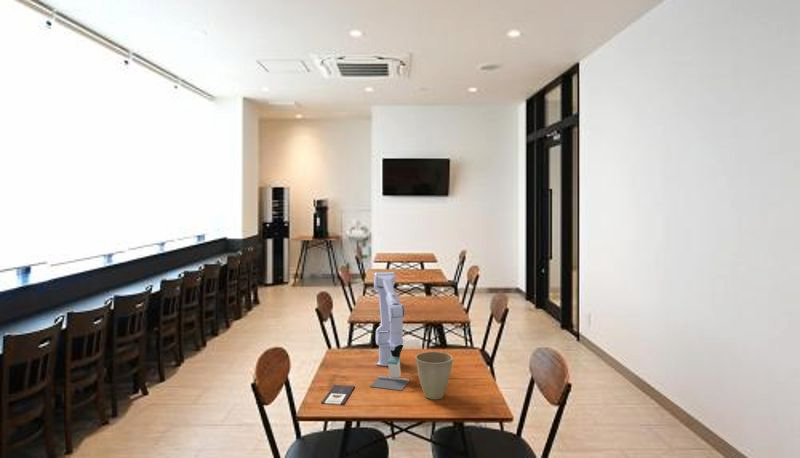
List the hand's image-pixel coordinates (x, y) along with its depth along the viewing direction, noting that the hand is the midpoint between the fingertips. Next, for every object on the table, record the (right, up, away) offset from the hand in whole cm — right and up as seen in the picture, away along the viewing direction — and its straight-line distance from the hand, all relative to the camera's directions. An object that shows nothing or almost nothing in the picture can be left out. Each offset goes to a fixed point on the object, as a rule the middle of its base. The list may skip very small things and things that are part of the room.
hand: (396, 361), depth 218 cm
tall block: (0, -7, -1) cm, 7 cm away
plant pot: (+15, -8, -20) cm, 27 cm away
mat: (-3, -8, -9) cm, 12 cm away
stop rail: (-1, -7, -4) cm, 8 cm away
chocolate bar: (-23, -9, -20) cm, 32 cm away
